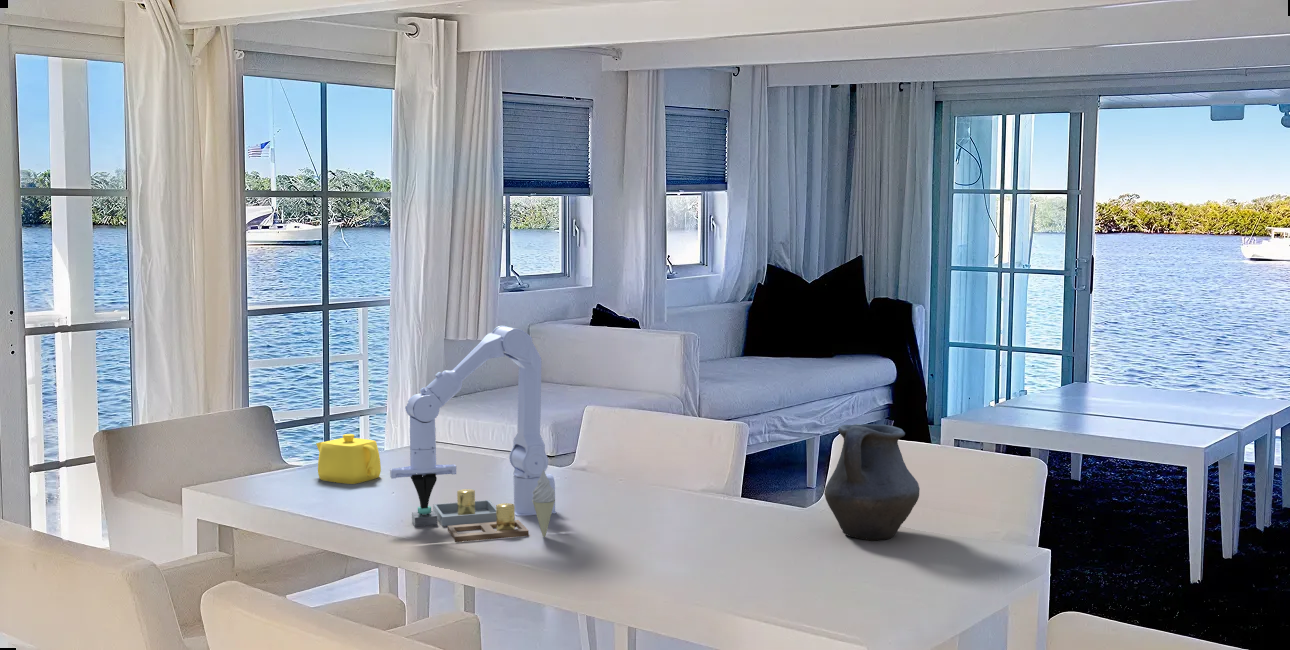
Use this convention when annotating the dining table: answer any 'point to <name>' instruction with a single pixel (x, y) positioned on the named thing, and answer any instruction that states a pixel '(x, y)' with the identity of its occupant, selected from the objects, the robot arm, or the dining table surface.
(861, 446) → the pitcher
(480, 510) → the tray
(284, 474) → the dining table surface
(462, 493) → the block
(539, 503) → the ice cream cone
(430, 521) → the button housing
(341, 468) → the teapot
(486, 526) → the board
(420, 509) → the button
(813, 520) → the dining table surface
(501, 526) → the cylinder
